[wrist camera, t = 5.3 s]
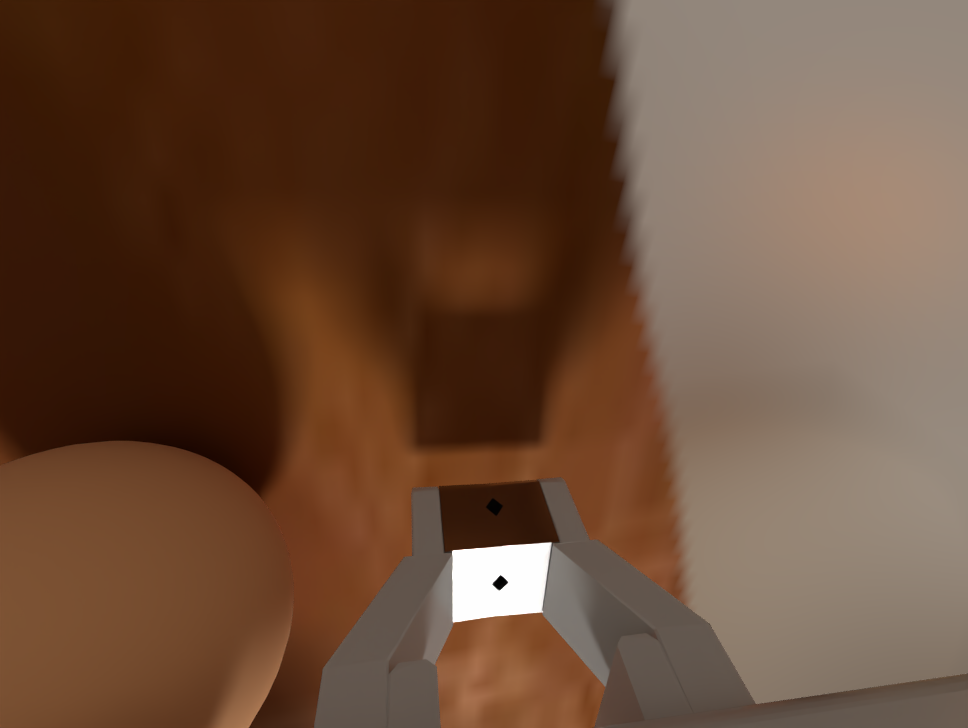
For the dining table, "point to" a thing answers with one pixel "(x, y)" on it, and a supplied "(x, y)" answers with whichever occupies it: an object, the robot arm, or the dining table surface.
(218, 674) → the ball
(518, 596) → the robot arm
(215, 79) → the dining table surface
